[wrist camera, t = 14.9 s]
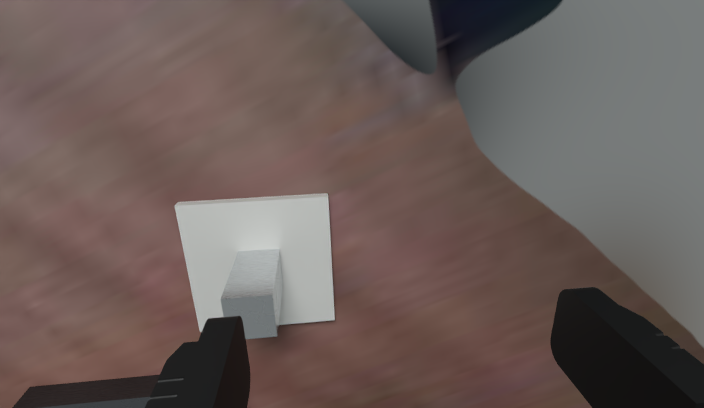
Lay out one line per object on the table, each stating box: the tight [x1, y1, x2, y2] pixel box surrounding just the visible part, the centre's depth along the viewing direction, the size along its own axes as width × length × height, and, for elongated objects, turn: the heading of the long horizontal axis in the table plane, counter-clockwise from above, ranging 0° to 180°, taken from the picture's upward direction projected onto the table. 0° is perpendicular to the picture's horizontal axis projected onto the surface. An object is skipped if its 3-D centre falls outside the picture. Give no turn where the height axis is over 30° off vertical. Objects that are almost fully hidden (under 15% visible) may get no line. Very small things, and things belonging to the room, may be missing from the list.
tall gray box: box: [221, 249, 283, 339], centre depth 35 cm, size 4×4×8 cm
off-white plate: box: [175, 193, 335, 332], centre depth 40 cm, size 14×14×1 cm
